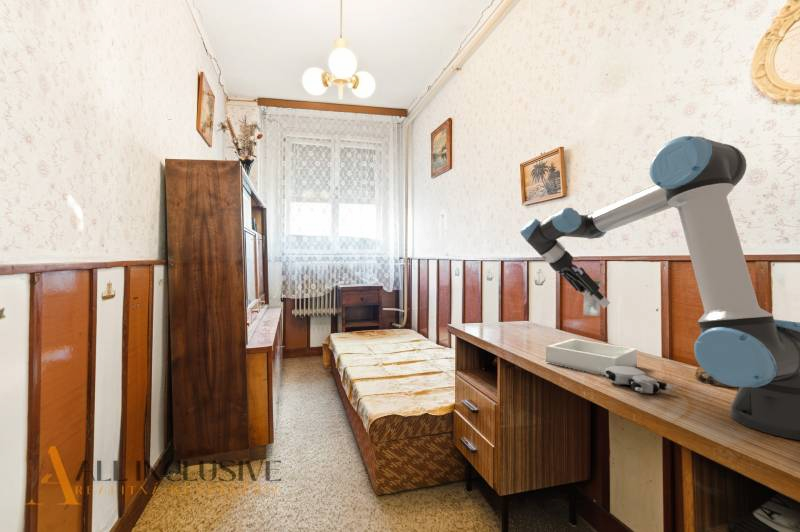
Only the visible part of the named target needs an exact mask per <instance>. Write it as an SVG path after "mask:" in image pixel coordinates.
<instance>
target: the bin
mask: <svg viewBox="0 0 800 532" xmlns="http://www.w3.org/2000/svg"><path fill="white" fill-rule="evenodd" d="M546 362H549V363H553V364H558V365H562V366H566V367H569V368H568V369H571V368H573V369H572V370H575V369H577V370H576V371H580V370H582V371H581V372H584V371H586V372H585V373H589V372H591V373H590V374H594V373H597V374H596V375H598V374H601V375H600V376H603V375H605V374H604V373H603V372H602V371H604V372H605V369H606V368H608V367H611V366H628V367H635V368H636V367H637V366H638V349H637V348H635V347H627V346H622V345H621V346H620V345H614V344H610V343H609V344H608V343H602V342H597V341H590V340H583V339H577V338H570V339H566V340H563V341H560V342H557V343H552V344H549V345H546V346H545V363H546ZM562 366H561V367H562ZM566 367H565V368H566ZM599 368H601V370H602V371H601V370H599Z"/></svg>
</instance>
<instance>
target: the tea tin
mask: <svg viewBox="0 0 800 532" xmlns="http://www.w3.org/2000/svg"><path fill="white" fill-rule="evenodd" d="M593 281H594V282H595V283H596V284H597V285H598V286H599V287H600V289H599V291H600V292H601V281H602V280H593ZM590 294H591V293H590V292H589V291H588V290H587V289H586V288H585V287H584V295H583V313H582V314H583V316H591V317H600V314H601V313H600V311H601V310H600V306H601V305H600V304H599V303H598V302H597V301H596V299H595V298H594V297H593V296H591V295H590Z"/></svg>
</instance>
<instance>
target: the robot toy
mask: <svg viewBox="0 0 800 532" xmlns="http://www.w3.org/2000/svg"><path fill="white" fill-rule="evenodd" d="M599 370H601V368H599ZM601 371H602V370H601ZM602 372H603V373H604V374H605V376H604V377H605V378H606V379H607V380H610V381H611V382H612V383H613V384H614V385H616V386H617V385H618V386H621V385H628V386H631V389H632V390H633V391H634V392H637V393H638V392H639V393H641V394H658V393H659V392H660V391H659V390H662V391H666V390H667V391H672V390H674V387H673V386H671V385H667V384H668V383H666V382H663V381H658V380H656V379H655V378H652V377H650V376H647V373H646V372H645V371H643V370H641V369H639V368H636V367H628V366H611V367H608V368H606V369H605V372H604V371H602Z"/></svg>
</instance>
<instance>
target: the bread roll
mask: <svg viewBox="0 0 800 532" xmlns="http://www.w3.org/2000/svg"><path fill="white" fill-rule="evenodd" d="M694 376H695V379H696V380H697V381H698V382H700V383H703V384H706V385H709V384H710V385H709V386H714V385H715V387H721V386H722V388H735V387H734V386H730V385H726V384H724V383H721V382H719V381H717V380H716V379H714V378H713V377H711V376H710V375H708V374H707V373H706V372H705V371H704V370H703V369H702V368H701V366H700V365H699V367H697V368H696V371H695V375H694Z"/></svg>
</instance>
